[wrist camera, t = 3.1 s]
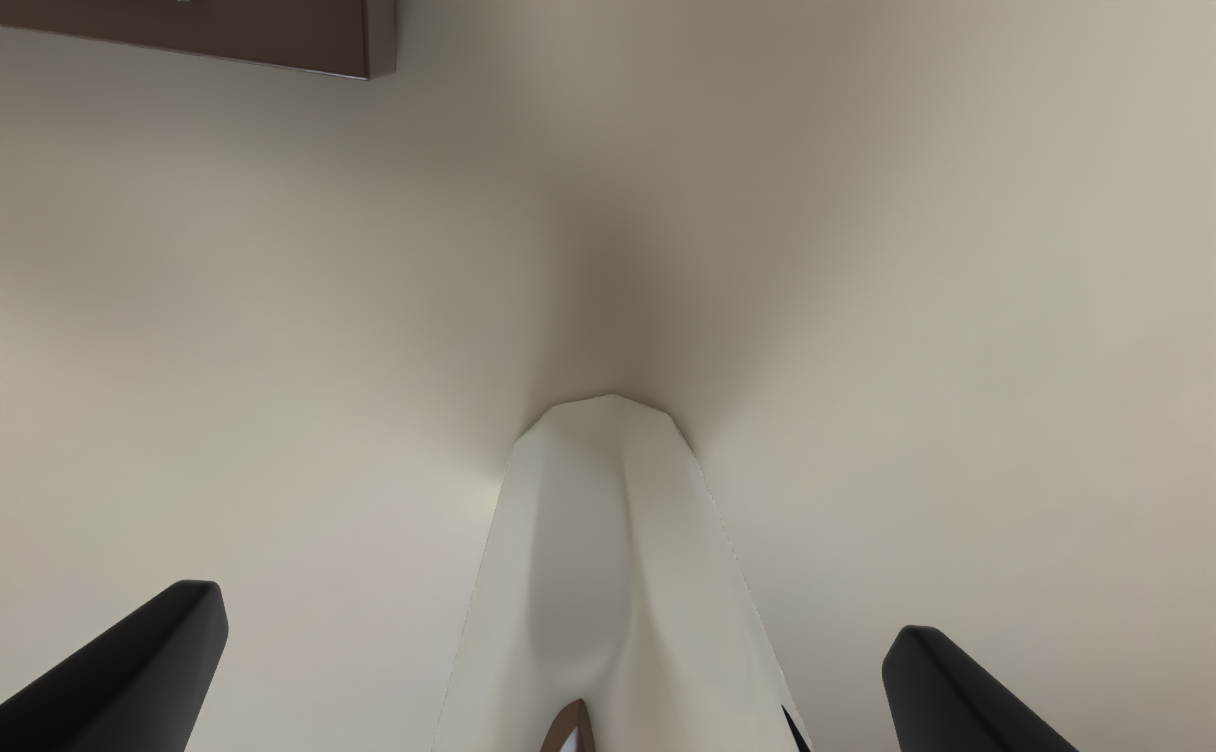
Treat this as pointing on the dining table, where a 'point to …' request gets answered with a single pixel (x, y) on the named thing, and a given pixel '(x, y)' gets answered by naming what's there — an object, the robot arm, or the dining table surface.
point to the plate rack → (231, 30)
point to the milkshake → (612, 604)
